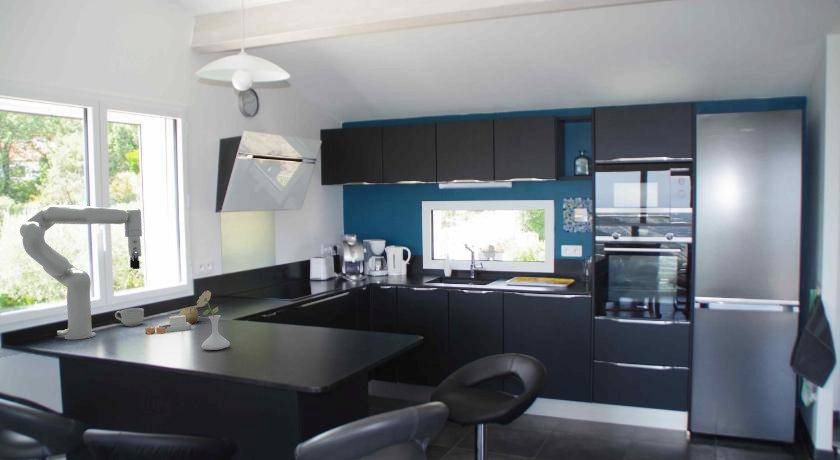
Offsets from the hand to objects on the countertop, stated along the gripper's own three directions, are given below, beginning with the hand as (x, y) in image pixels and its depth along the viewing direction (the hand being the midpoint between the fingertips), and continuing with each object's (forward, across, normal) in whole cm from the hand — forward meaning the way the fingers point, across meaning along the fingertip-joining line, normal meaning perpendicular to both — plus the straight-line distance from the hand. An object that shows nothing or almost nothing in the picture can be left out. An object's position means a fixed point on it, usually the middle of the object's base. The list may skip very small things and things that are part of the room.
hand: (134, 268), depth 308 cm
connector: (+30, -15, -14) cm, 36 cm away
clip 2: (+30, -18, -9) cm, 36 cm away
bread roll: (+31, +2, -25) cm, 39 cm away
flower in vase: (+30, -70, -22) cm, 79 cm away
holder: (+30, -15, -17) cm, 38 cm away
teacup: (+31, +14, +2) cm, 34 cm away
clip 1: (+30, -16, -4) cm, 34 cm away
